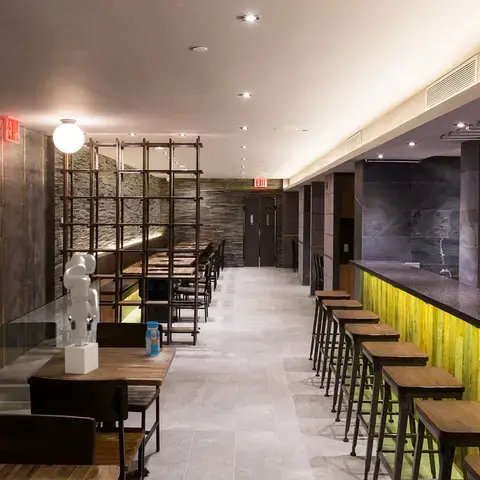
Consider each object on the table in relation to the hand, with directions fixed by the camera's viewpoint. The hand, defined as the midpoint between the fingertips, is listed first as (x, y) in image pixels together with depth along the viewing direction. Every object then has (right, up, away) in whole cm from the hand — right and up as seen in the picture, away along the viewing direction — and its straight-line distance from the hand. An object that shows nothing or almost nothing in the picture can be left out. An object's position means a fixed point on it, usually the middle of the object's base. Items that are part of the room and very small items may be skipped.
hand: (81, 330), depth 322 cm
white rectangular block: (0, -14, 0) cm, 14 cm away
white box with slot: (0, -22, 0) cm, 22 cm away
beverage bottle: (+34, -21, +36) cm, 54 cm away
